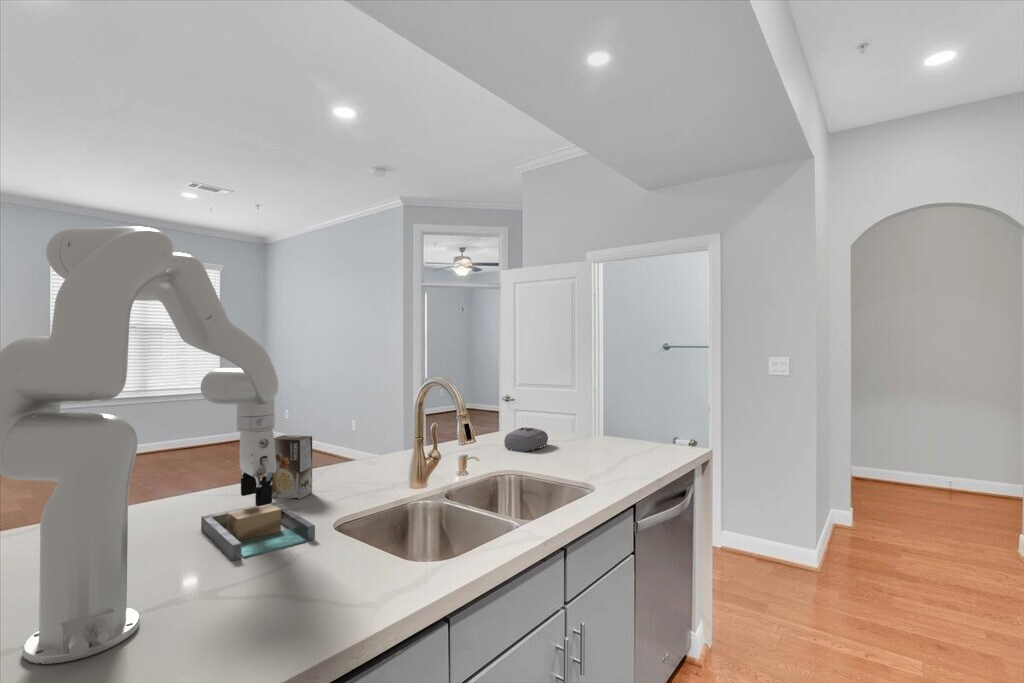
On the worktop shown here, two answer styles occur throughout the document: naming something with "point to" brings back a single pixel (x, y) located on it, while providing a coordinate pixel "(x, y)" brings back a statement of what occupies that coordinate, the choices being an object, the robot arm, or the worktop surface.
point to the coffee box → (292, 467)
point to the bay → (260, 544)
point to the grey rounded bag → (525, 439)
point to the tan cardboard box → (254, 521)
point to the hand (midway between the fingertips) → (256, 499)
